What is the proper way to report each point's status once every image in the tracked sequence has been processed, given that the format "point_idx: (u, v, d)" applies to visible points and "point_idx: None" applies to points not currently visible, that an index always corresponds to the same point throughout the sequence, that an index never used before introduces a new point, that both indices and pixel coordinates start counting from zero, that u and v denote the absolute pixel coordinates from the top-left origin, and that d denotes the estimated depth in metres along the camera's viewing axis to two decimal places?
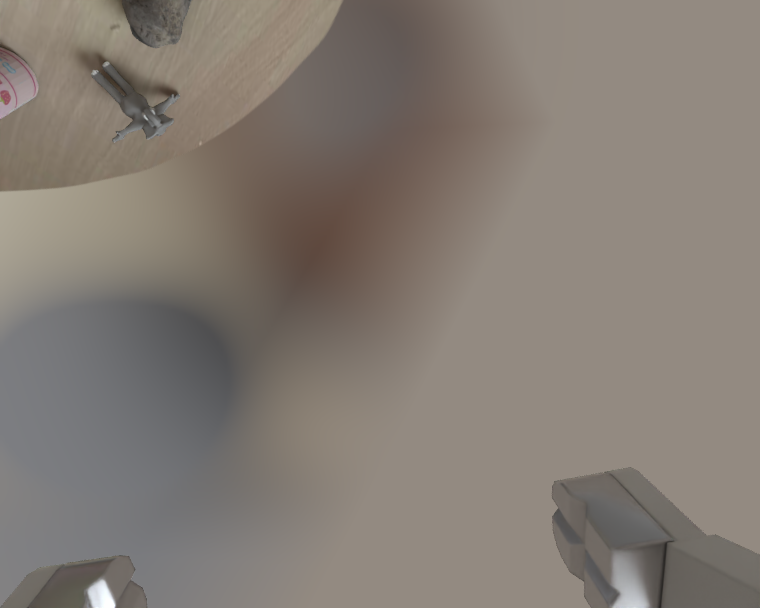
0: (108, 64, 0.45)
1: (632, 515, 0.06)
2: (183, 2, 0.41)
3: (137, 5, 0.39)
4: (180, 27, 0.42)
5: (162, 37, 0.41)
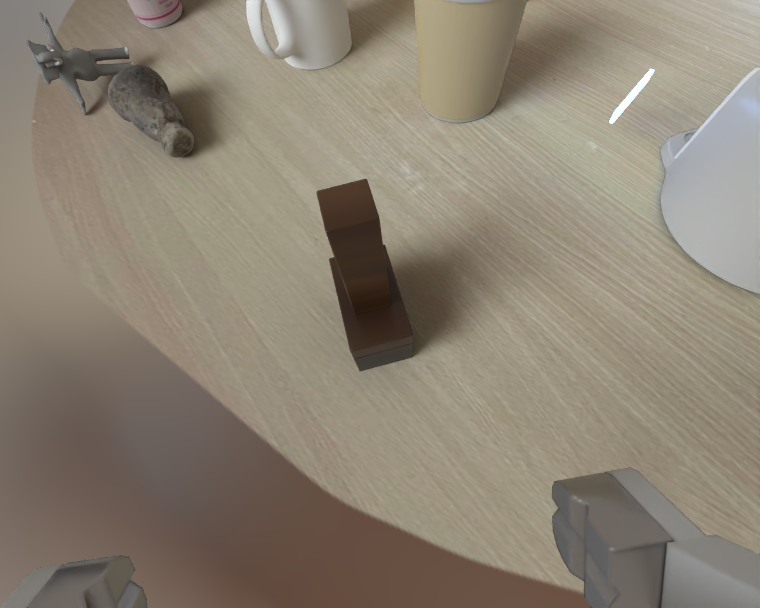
0: None
1: (632, 515, 0.06)
2: (136, 116, 0.37)
3: (138, 70, 0.37)
4: (119, 110, 0.37)
5: (109, 84, 0.37)
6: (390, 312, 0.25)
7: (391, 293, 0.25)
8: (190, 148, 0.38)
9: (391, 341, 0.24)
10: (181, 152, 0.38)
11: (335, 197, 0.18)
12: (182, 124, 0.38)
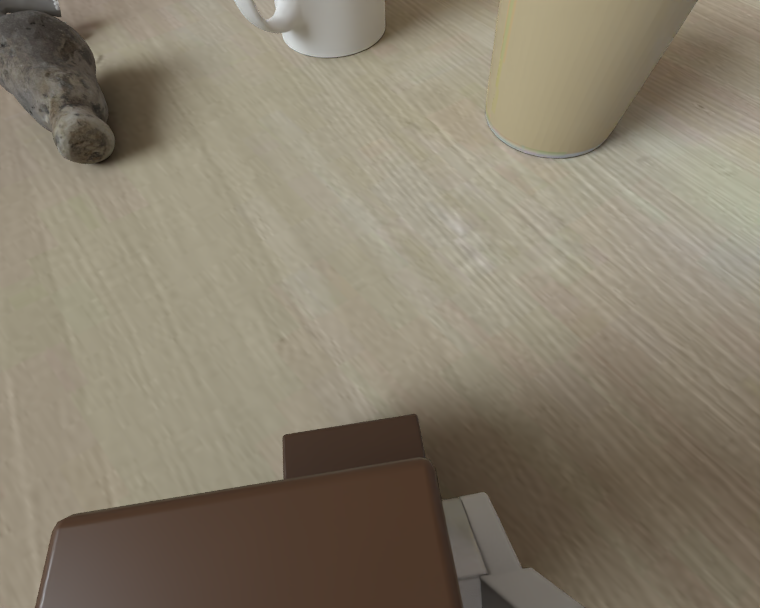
0: None
1: (461, 545, 0.06)
2: (19, 91, 0.22)
3: (35, 18, 0.23)
4: None
5: None
6: None
7: None
8: (105, 152, 0.23)
9: None
10: (88, 156, 0.23)
11: None
12: (100, 112, 0.24)
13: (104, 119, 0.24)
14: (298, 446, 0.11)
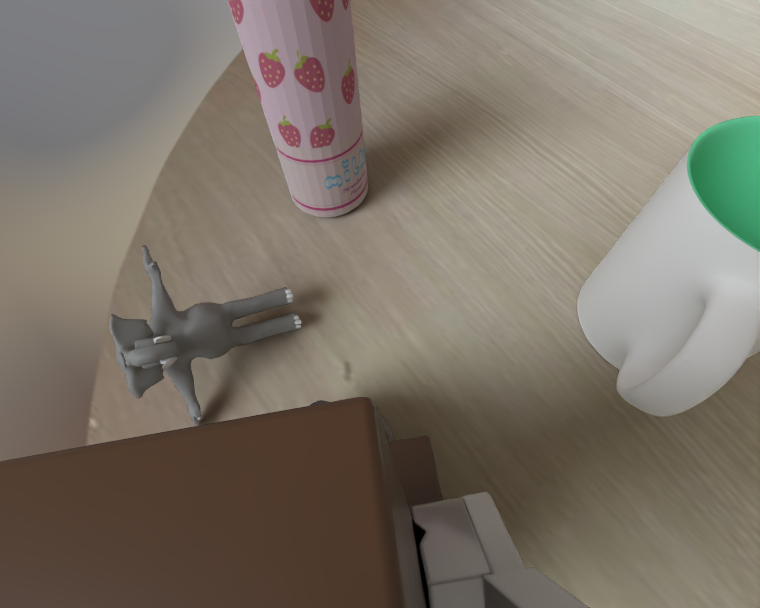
0: (295, 325, 0.23)
1: (463, 545, 0.06)
2: None
3: None
4: None
5: None
6: None
7: None
8: None
9: None
10: None
11: (78, 573, 0.02)
12: None
13: None
14: None
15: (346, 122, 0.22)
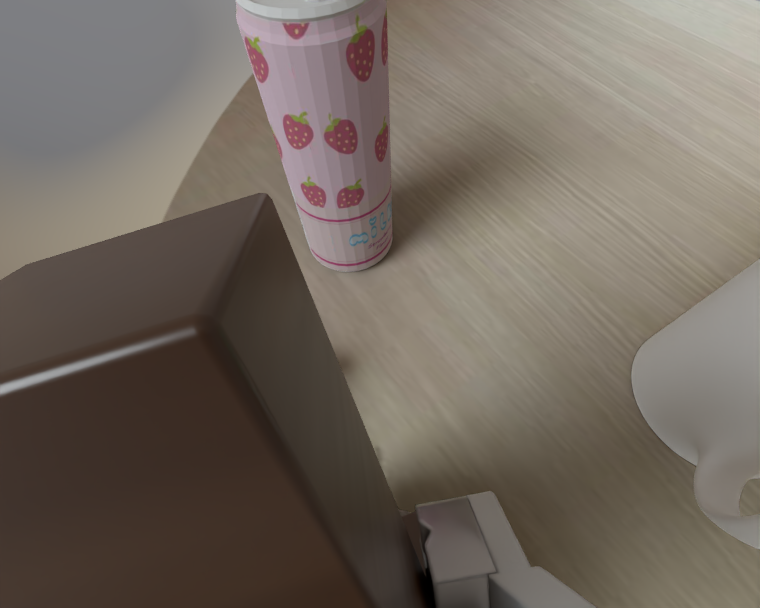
0: None
1: (469, 544, 0.06)
2: None
3: None
4: None
5: None
6: None
7: None
8: None
9: None
10: None
11: (61, 267, 0.03)
12: None
13: None
14: None
15: (376, 180, 0.20)
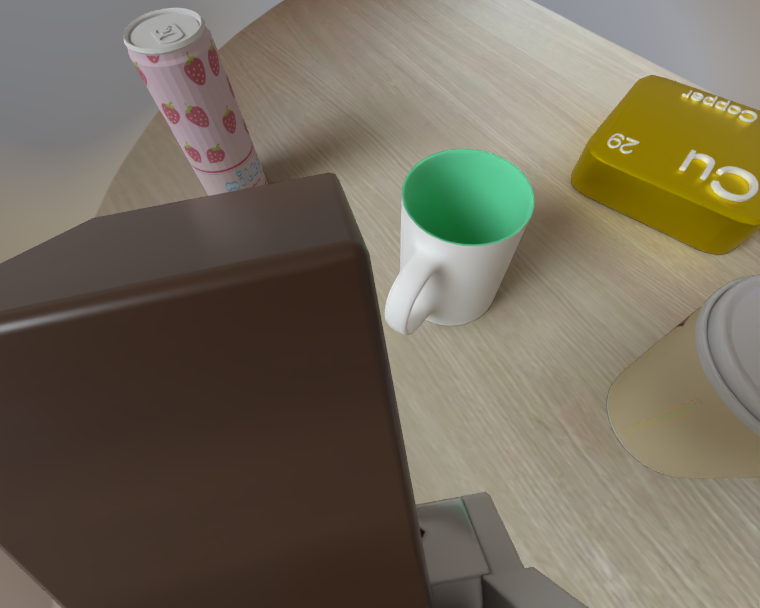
0: None
1: (462, 545, 0.06)
2: None
3: None
4: None
5: None
6: None
7: None
8: None
9: None
10: None
11: (145, 219, 0.03)
12: None
13: None
14: None
15: (232, 145, 0.32)
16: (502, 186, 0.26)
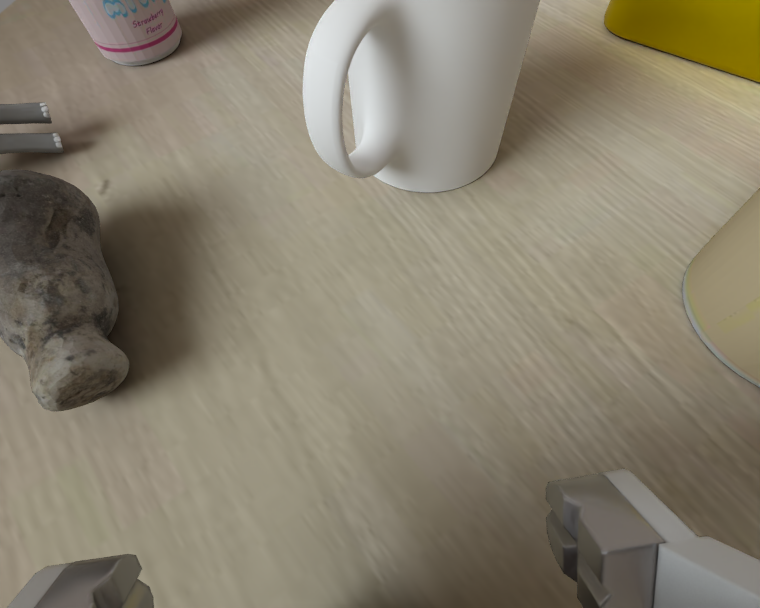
0: (55, 143, 0.22)
1: (625, 517, 0.06)
2: None
3: (5, 187, 0.14)
4: None
5: None
6: None
7: None
8: (115, 385, 0.15)
9: None
10: (88, 400, 0.15)
11: None
12: (106, 321, 0.15)
13: (113, 322, 0.16)
14: None
15: None
16: None
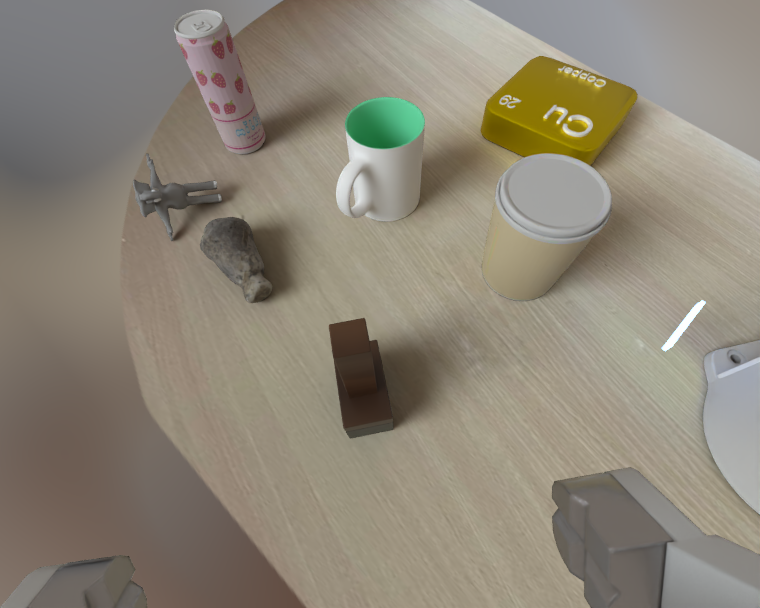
0: (219, 198, 0.48)
1: (632, 515, 0.06)
2: (224, 266, 0.40)
3: (231, 224, 0.41)
4: (209, 255, 0.41)
5: (204, 233, 0.41)
6: (376, 398, 0.32)
7: (378, 382, 0.33)
8: (267, 295, 0.41)
9: (375, 422, 0.31)
10: (259, 299, 0.41)
11: (341, 331, 0.25)
12: (263, 272, 0.42)
13: None
14: None
15: (241, 102, 0.47)
16: (412, 121, 0.42)
